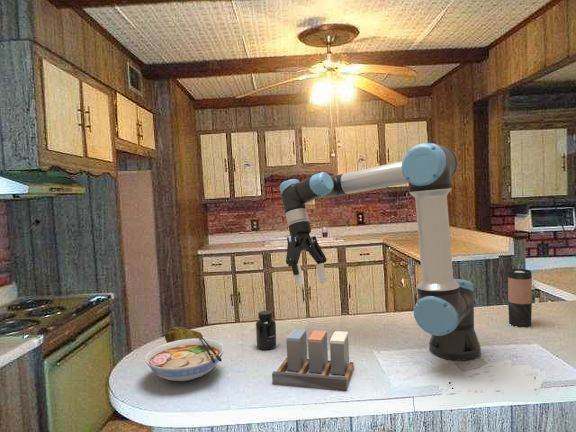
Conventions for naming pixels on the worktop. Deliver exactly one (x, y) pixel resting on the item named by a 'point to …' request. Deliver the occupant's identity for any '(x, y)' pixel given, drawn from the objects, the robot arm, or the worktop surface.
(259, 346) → the supplement bottle
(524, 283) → the travel mug
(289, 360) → the slate key
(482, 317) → the worktop surface
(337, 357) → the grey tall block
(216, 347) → the ramen bowl
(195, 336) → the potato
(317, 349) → the terracotta key
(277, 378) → the key bed
